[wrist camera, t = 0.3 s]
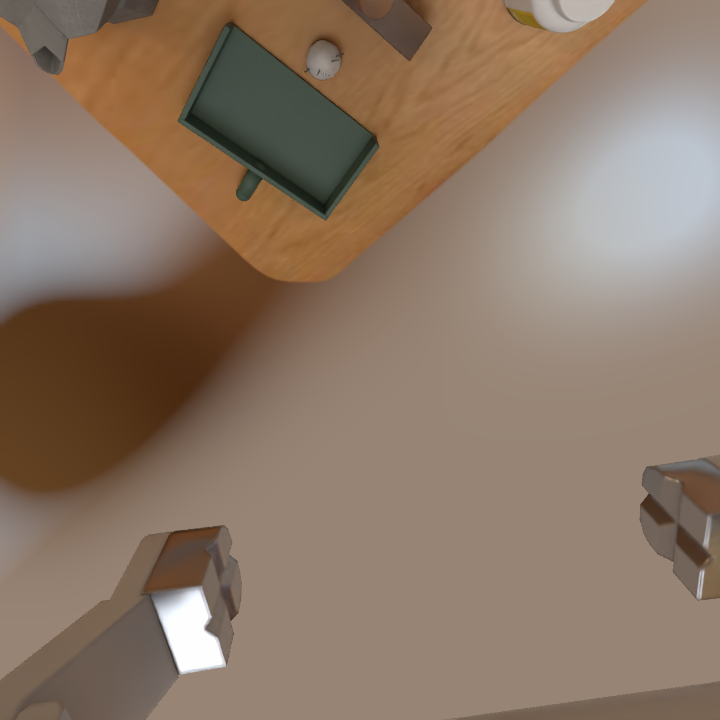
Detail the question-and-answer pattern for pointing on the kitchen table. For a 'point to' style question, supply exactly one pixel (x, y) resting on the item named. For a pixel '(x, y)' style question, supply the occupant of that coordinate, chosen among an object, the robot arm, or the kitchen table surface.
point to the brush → (393, 23)
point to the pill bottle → (557, 13)
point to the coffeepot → (66, 23)
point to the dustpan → (276, 125)
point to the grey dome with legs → (323, 60)
